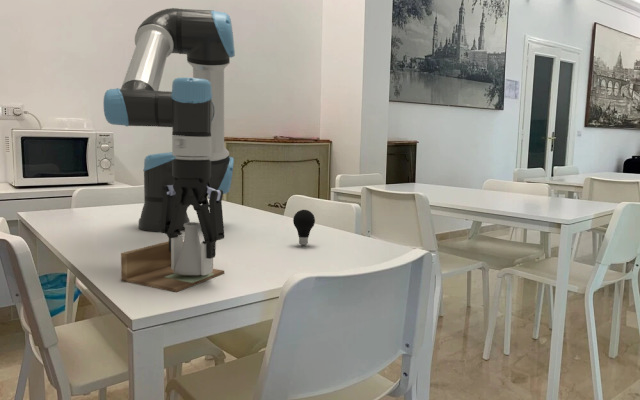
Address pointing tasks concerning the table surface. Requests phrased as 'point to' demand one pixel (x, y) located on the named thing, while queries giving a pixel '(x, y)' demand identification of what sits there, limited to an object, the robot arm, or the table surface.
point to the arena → (157, 269)
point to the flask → (190, 252)
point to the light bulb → (303, 225)
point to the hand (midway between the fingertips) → (191, 270)
